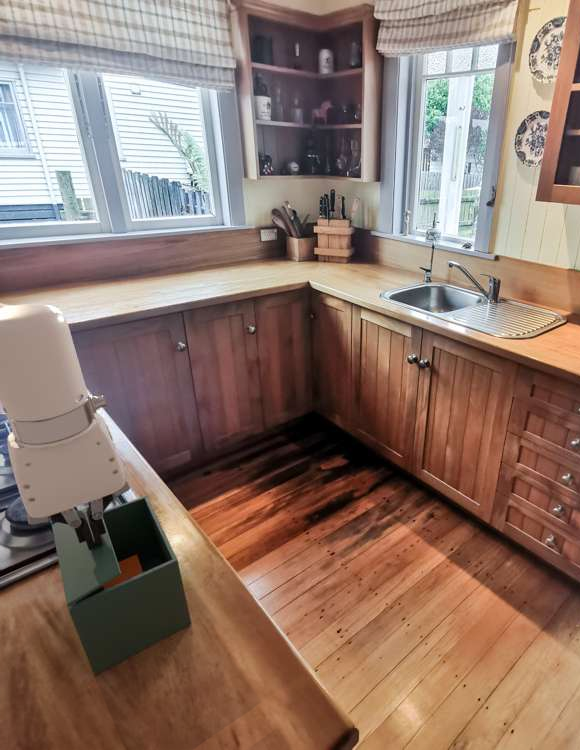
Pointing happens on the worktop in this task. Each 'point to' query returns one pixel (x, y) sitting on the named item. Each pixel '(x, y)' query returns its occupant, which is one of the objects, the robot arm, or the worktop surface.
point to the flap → (83, 562)
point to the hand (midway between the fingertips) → (94, 540)
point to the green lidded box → (133, 591)
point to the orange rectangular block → (126, 571)
